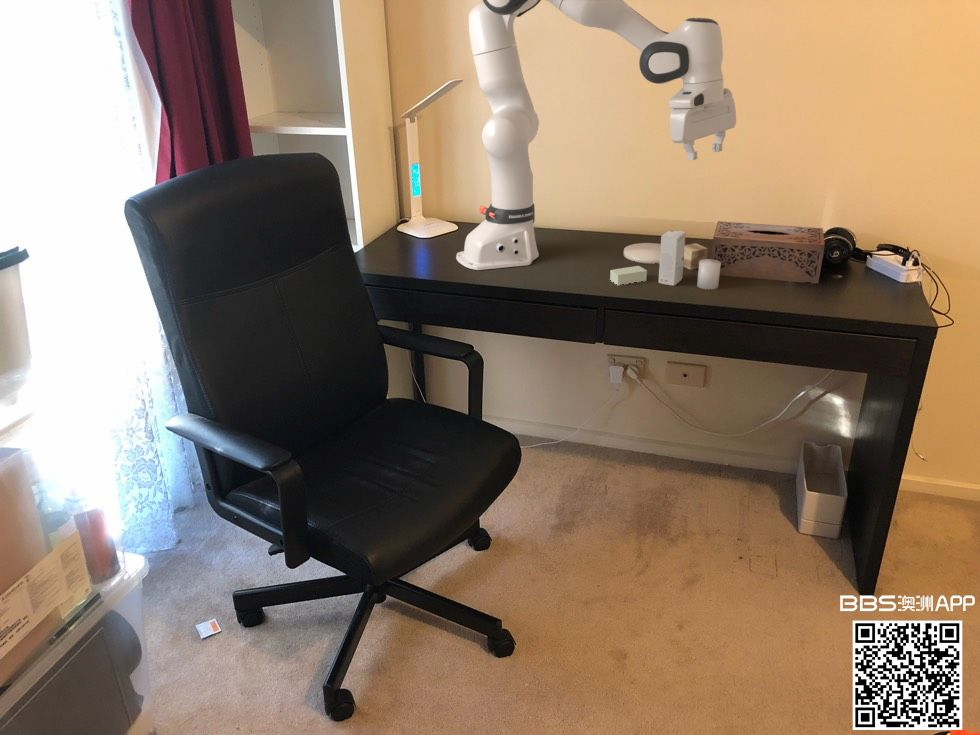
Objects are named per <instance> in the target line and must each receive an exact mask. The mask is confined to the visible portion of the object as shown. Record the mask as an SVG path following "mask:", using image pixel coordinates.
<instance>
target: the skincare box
mask: <svg viewBox="0 0 980 735" xmlns="http://www.w3.org/2000/svg"><path fill="white" fill-rule="evenodd" d="M660 244H661V251H660V263H659V268H658V283H659V284H661V285H668V286H673V287H674V286H676V285H677V284H679V282H681V281H682V279H683V273H684V267H683V262H684V248H685V245H686V232H685V231H681V230H674V229H673V230H672V229H670V230H668V231H666V232H665V233H664V234H662V235H661V237H660Z"/></svg>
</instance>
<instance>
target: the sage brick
mask: <svg viewBox="0 0 980 735" xmlns="http://www.w3.org/2000/svg"><path fill="white" fill-rule="evenodd" d="M609 270H610V269H609ZM609 273H610V278H609V281H610V280H611V281H610V282H611V283H613V282H614V283H613V284H615V285H616V284H617V285H616V286H623V285H622V284H624V285H629V283H631V284H635V283H634V282H637V283H642V282H641V281H643V282H647V275H648V270H647V269H645V268H643V267H642V266H640V265H635V266H629V267H628V266H626V267H621V268H615V269H611V270H610V272H609Z"/></svg>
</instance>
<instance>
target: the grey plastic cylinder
mask: <svg viewBox="0 0 980 735" xmlns="http://www.w3.org/2000/svg"><path fill="white" fill-rule="evenodd" d="M720 266H721V262H720V261H717V260H713V259H711V258H707V259H704V260H700V261H699V268H698V271H697V282H696V283H697V284H696V287H698V288H700V289H703V290H707V289H708V291H709V290H710V289H711V290H716V289H718V288H719V282H720V276H721V275H720Z"/></svg>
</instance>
